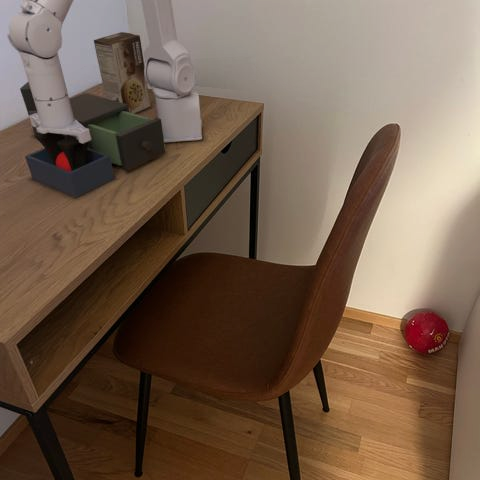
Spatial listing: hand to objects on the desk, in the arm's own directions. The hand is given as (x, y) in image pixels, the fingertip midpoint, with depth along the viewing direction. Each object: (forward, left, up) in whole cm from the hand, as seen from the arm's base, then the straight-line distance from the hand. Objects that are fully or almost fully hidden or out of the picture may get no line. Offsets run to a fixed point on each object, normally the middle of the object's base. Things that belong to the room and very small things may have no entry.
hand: (71, 171), depth 90 cm
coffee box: (-10, -37, -2) cm, 38 cm away
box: (0, 0, -2) cm, 2 cm away
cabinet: (-3, -15, -2) cm, 15 cm away
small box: (+7, -28, -2) cm, 29 cm away
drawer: (-10, -7, -1) cm, 13 cm away
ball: (0, 0, +2) cm, 2 cm away
